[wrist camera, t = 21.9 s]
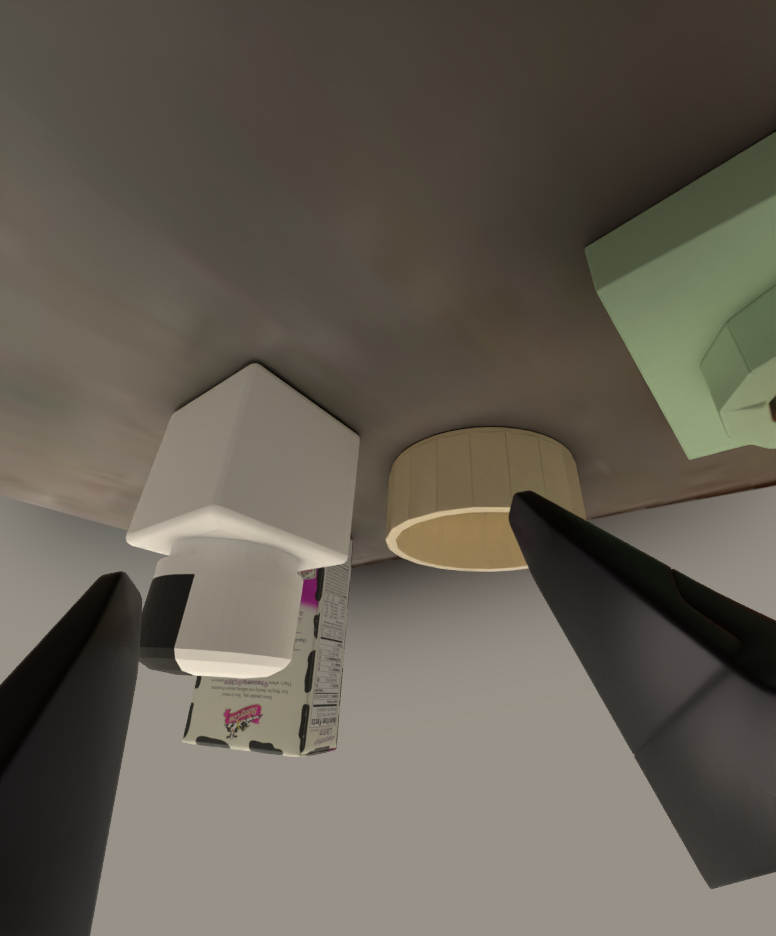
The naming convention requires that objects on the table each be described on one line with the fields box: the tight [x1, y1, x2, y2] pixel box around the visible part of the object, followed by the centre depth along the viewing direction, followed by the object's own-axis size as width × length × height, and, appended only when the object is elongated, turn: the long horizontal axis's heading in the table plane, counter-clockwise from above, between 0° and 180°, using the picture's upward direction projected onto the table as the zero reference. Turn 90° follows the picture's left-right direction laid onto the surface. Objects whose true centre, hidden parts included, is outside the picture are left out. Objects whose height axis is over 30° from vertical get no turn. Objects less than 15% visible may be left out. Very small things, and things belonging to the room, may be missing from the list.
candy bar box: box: [182, 538, 353, 757], centre depth 34 cm, size 11×5×16 cm, turn 115°
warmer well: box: [386, 427, 587, 572], centre depth 25 cm, size 11×11×4 cm
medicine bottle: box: [126, 363, 360, 679], centre depth 19 cm, size 7×7×12 cm
